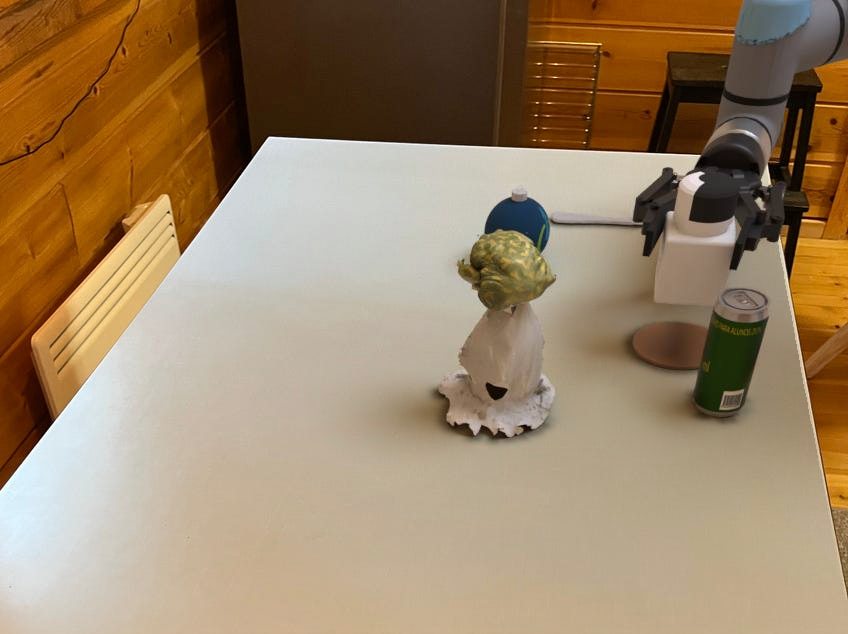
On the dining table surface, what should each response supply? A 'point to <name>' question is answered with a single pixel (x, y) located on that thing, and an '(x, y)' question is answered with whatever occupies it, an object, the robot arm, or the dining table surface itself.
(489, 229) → the christmas ornament
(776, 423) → the dining table surface
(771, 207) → the robot arm
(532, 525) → the dining table surface
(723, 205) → the medicine bottle
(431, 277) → the dining table surface
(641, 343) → the coaster
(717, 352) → the green drink can
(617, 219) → the butter knife
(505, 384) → the white and green statuette
